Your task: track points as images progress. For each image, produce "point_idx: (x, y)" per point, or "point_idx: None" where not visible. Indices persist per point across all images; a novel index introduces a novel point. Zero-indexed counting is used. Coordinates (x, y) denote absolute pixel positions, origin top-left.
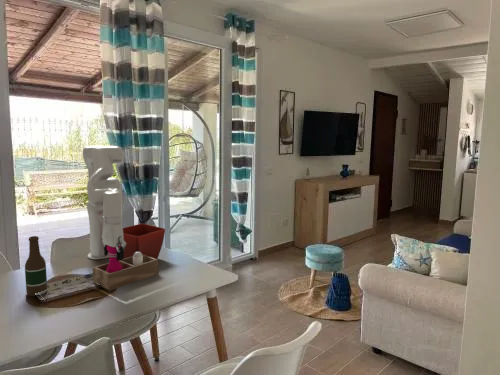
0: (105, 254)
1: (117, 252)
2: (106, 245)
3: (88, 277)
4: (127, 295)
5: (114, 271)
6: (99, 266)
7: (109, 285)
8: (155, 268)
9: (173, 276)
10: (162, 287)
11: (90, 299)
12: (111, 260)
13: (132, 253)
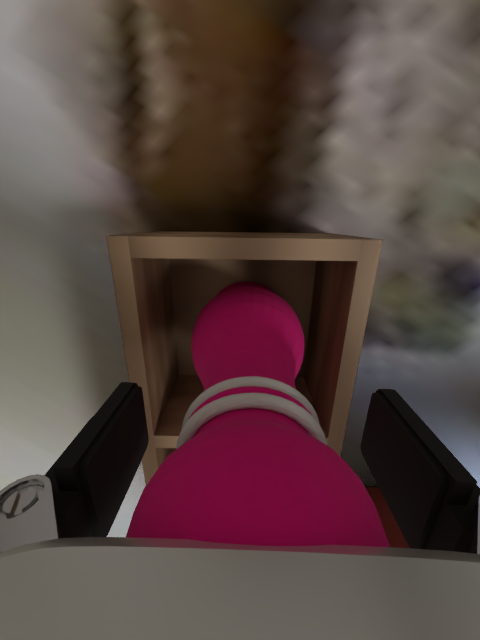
0: (378, 397)
1: (59, 464)
2: (459, 529)
3: (444, 272)
4: (65, 273)
5: (199, 325)
6: (351, 291)
7: (144, 232)
8: None
9: (131, 498)
10: (54, 418)
11: (147, 93)
12: (228, 364)
13: (399, 544)
